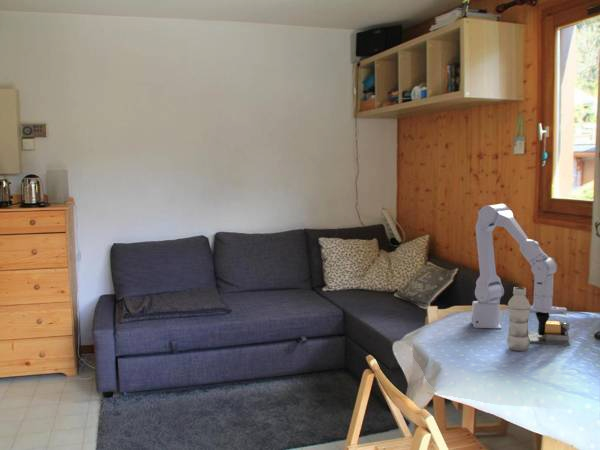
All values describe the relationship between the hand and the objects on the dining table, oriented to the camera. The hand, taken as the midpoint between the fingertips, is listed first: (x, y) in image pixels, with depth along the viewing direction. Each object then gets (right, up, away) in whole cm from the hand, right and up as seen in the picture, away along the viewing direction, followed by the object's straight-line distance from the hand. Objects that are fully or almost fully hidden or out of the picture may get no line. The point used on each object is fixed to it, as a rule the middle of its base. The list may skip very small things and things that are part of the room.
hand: (541, 334), depth 190 cm
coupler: (+2, -2, 0) cm, 3 cm away
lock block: (+3, -1, -1) cm, 3 cm away
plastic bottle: (-12, -3, -10) cm, 15 cm away
